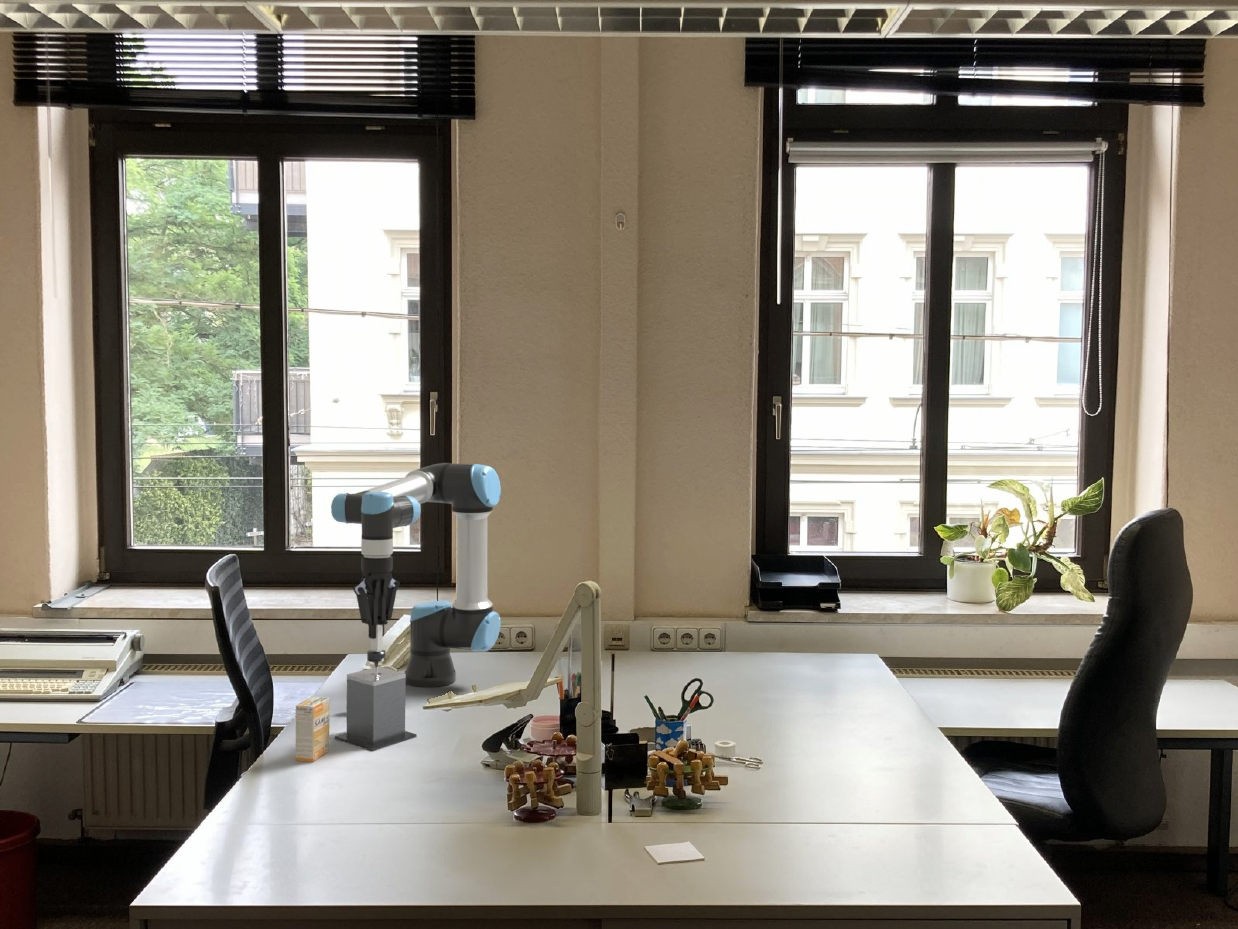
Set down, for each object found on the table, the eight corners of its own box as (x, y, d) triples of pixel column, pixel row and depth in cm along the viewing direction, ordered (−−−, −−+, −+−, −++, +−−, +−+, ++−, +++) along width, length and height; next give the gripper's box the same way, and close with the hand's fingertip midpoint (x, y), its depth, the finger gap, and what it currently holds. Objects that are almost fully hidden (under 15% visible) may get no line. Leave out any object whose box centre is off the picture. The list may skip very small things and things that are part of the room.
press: (376, 724, 275) (377, 663, 274) (416, 736, 266) (417, 673, 265) (332, 737, 264) (332, 674, 263) (372, 751, 255) (372, 685, 254)
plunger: (377, 703, 270) (378, 646, 268) (397, 709, 265) (397, 651, 264) (354, 710, 264) (355, 651, 263) (374, 716, 259) (374, 656, 258)
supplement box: (313, 762, 247) (313, 707, 246) (294, 761, 248) (294, 705, 247) (330, 751, 255) (330, 697, 254) (311, 749, 256) (311, 695, 255)
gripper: (387, 550, 269) (386, 643, 271) (345, 556, 259) (345, 653, 260) (407, 554, 265) (406, 648, 266) (366, 560, 254) (365, 658, 256)
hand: (376, 650), depth 263 cm, fingers closed
